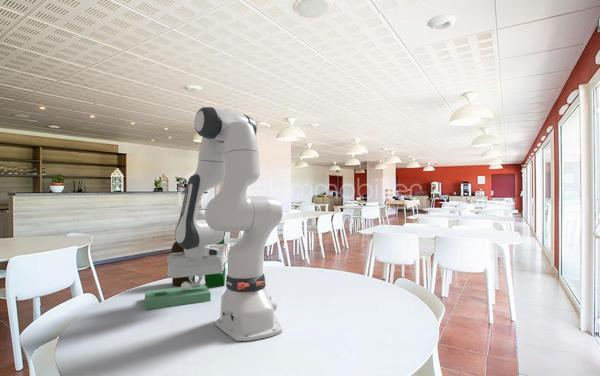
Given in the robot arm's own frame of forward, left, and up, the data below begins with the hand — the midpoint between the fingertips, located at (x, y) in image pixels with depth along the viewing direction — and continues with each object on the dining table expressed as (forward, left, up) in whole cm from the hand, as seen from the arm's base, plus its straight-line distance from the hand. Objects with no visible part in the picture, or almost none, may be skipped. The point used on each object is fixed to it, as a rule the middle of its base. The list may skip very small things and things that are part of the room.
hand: (195, 287), depth 124 cm
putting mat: (0, +7, -4) cm, 8 cm away
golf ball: (0, +4, +1) cm, 4 cm away
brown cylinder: (+23, +2, -4) cm, 23 cm away
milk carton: (+15, -10, -4) cm, 19 cm away
